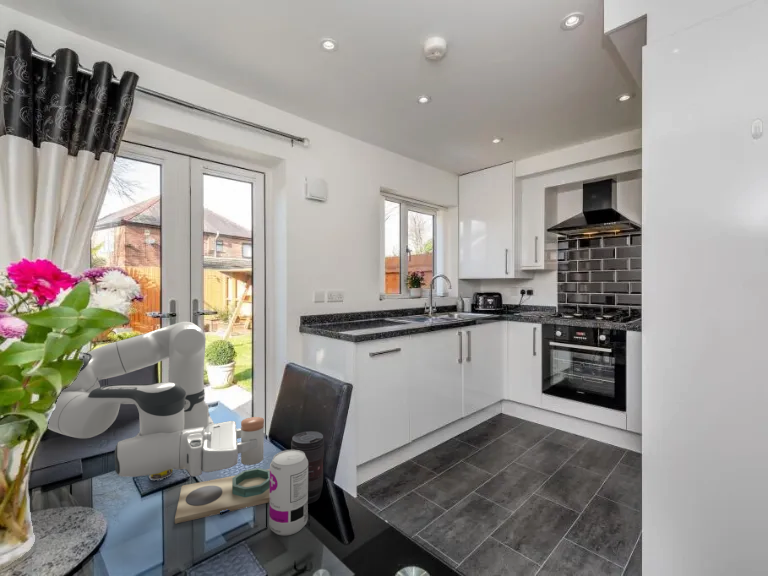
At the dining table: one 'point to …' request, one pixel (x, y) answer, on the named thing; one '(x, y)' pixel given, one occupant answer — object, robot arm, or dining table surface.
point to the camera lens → (311, 460)
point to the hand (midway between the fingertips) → (256, 437)
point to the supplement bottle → (161, 475)
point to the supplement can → (288, 492)
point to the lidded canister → (252, 430)
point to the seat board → (223, 494)
